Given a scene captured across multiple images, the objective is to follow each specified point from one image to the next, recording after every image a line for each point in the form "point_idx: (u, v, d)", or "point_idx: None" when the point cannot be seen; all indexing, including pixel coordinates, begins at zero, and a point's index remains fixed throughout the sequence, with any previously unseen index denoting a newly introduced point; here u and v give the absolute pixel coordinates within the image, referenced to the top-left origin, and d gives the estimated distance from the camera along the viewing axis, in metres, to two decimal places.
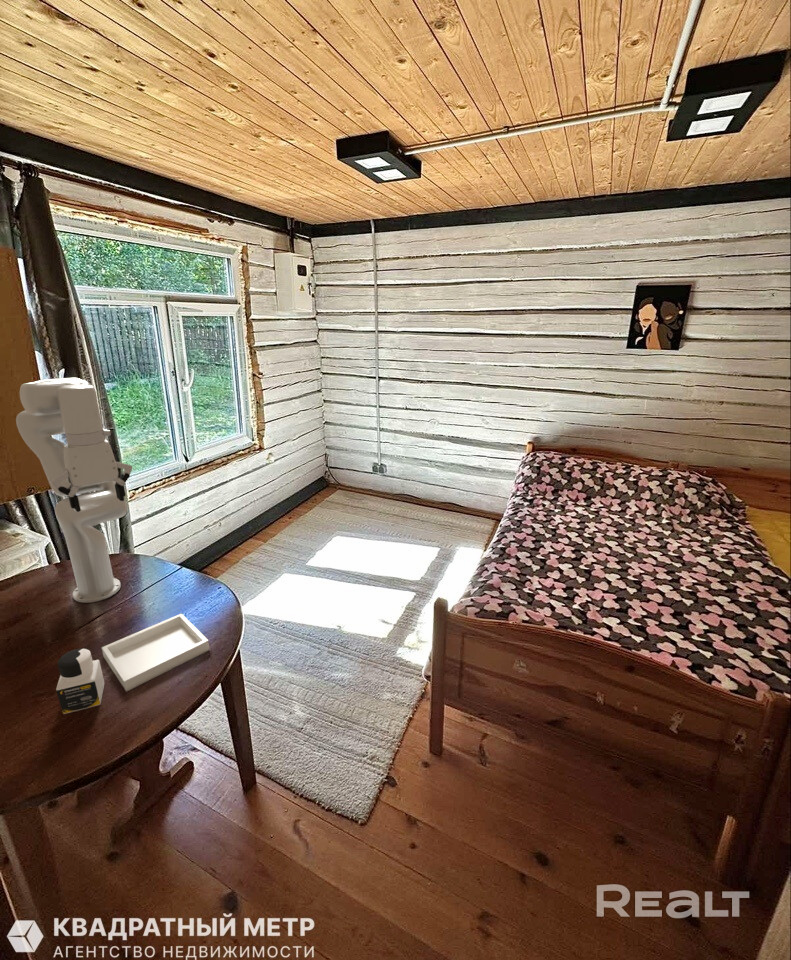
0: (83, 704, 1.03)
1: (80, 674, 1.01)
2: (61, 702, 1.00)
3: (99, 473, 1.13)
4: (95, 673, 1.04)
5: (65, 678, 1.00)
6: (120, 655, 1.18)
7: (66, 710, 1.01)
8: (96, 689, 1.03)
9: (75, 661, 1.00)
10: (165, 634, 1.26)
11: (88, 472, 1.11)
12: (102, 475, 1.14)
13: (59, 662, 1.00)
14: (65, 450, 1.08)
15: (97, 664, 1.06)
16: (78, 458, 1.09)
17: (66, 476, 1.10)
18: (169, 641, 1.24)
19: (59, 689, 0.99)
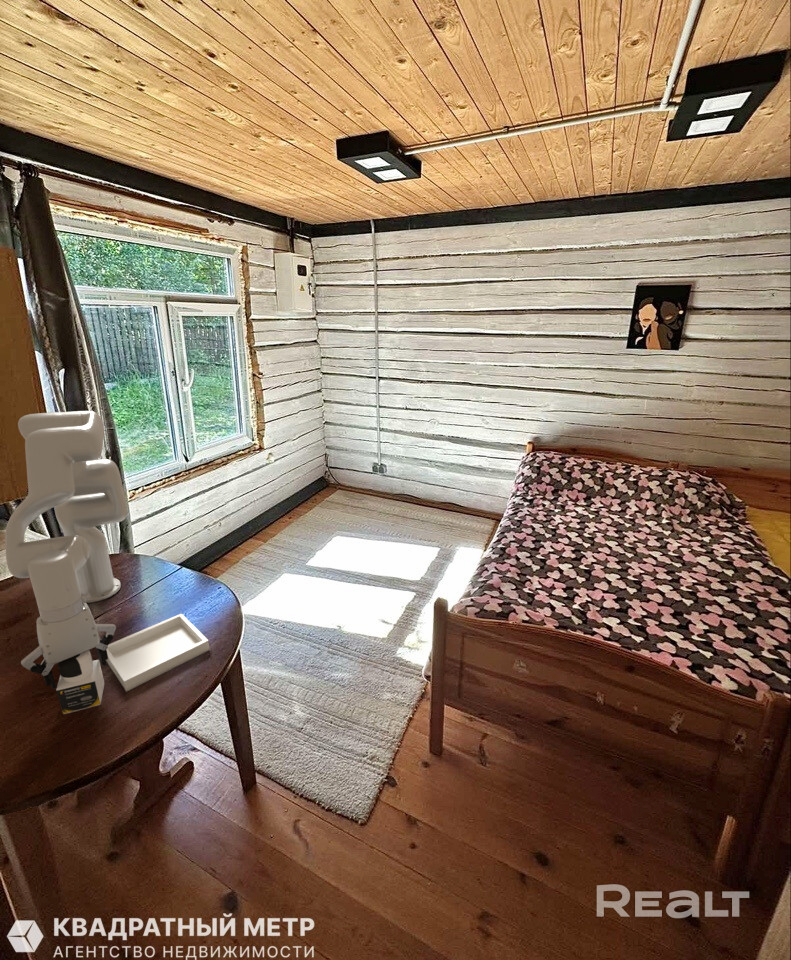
0: (83, 704, 1.03)
1: (80, 674, 1.01)
2: (61, 702, 1.00)
3: (77, 644, 1.00)
4: (95, 673, 1.04)
5: (65, 678, 1.00)
6: (120, 655, 1.18)
7: (66, 710, 1.01)
8: (96, 689, 1.03)
9: (75, 661, 1.00)
10: (165, 634, 1.26)
11: (64, 646, 0.98)
12: (81, 646, 1.01)
13: (59, 662, 1.00)
14: (38, 626, 0.96)
15: (97, 664, 1.06)
16: (52, 634, 0.96)
17: (39, 654, 0.97)
18: (169, 641, 1.24)
19: (59, 689, 0.99)
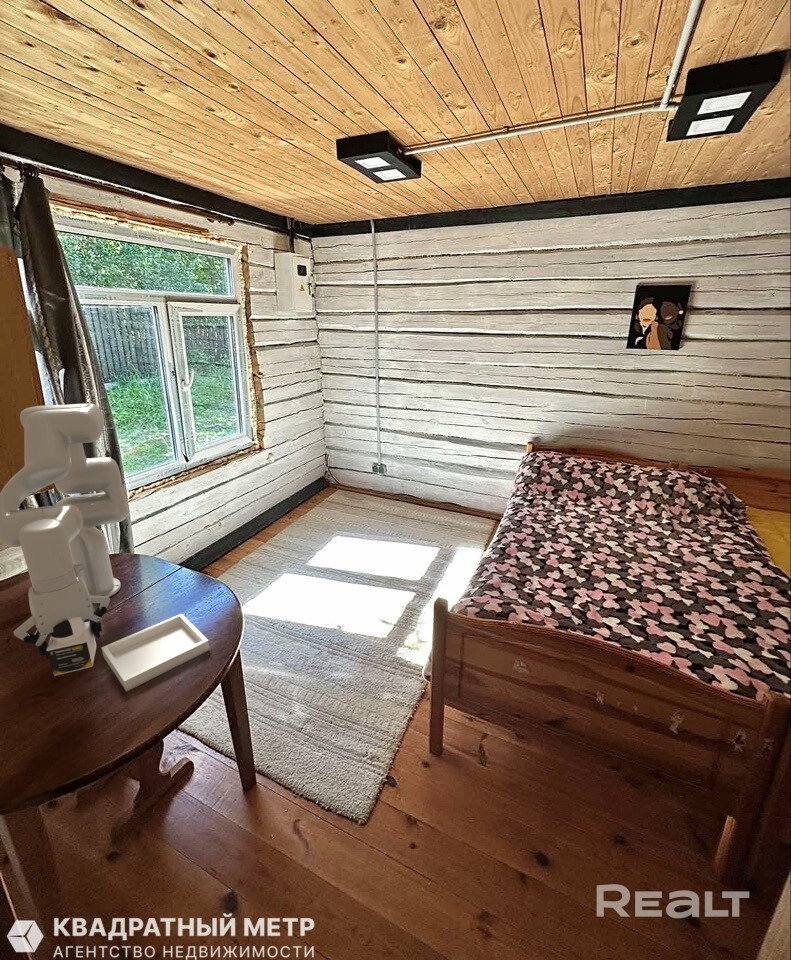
0: (74, 666, 1.00)
1: (71, 635, 0.98)
2: (52, 663, 0.98)
3: (71, 615, 0.98)
4: (86, 634, 1.01)
5: (56, 638, 0.97)
6: (120, 655, 1.18)
7: (57, 671, 0.99)
8: (88, 650, 1.00)
9: (66, 621, 0.97)
10: (165, 634, 1.26)
11: (57, 617, 0.96)
12: (74, 616, 0.99)
13: None
14: (30, 596, 0.94)
15: (89, 626, 1.04)
16: (45, 604, 0.94)
17: (32, 624, 0.95)
18: (169, 641, 1.24)
19: (50, 649, 0.97)
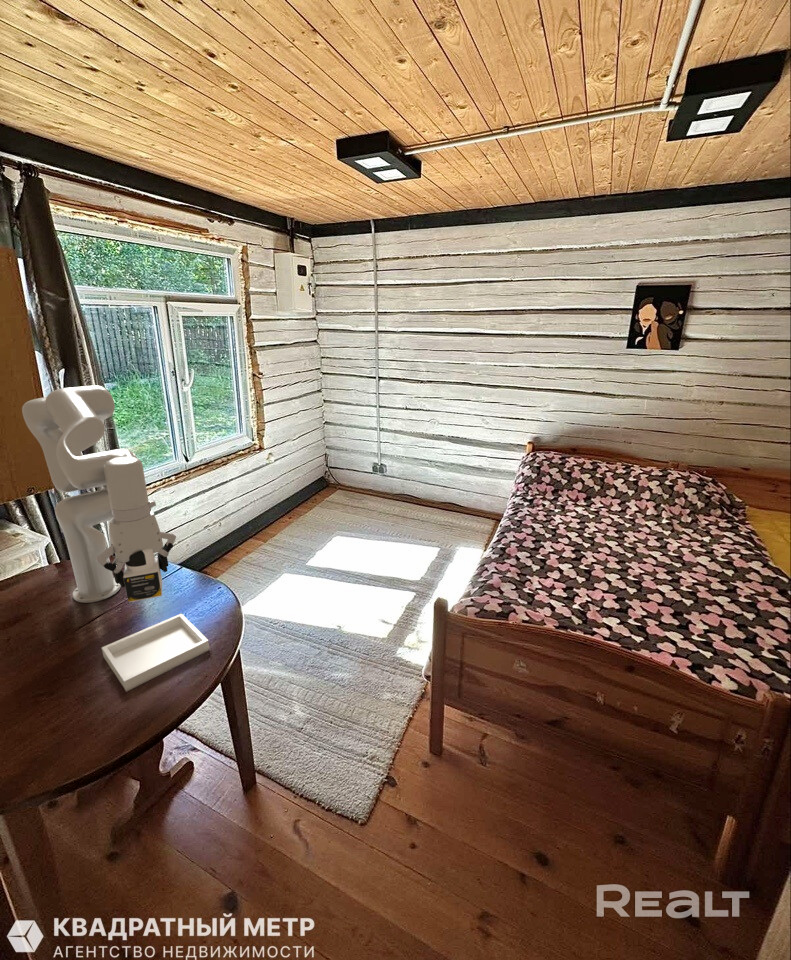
0: (146, 594, 1.10)
1: (145, 564, 1.08)
2: (127, 590, 1.08)
3: (144, 547, 1.08)
4: (157, 566, 1.11)
5: (131, 567, 1.07)
6: (120, 655, 1.18)
7: (131, 598, 1.09)
8: (158, 580, 1.10)
9: (140, 551, 1.08)
10: (165, 634, 1.26)
11: (133, 547, 1.06)
12: (147, 548, 1.09)
13: None
14: (111, 526, 1.04)
15: (157, 560, 1.14)
16: (124, 534, 1.04)
17: (111, 552, 1.05)
18: (169, 641, 1.24)
19: (126, 577, 1.07)
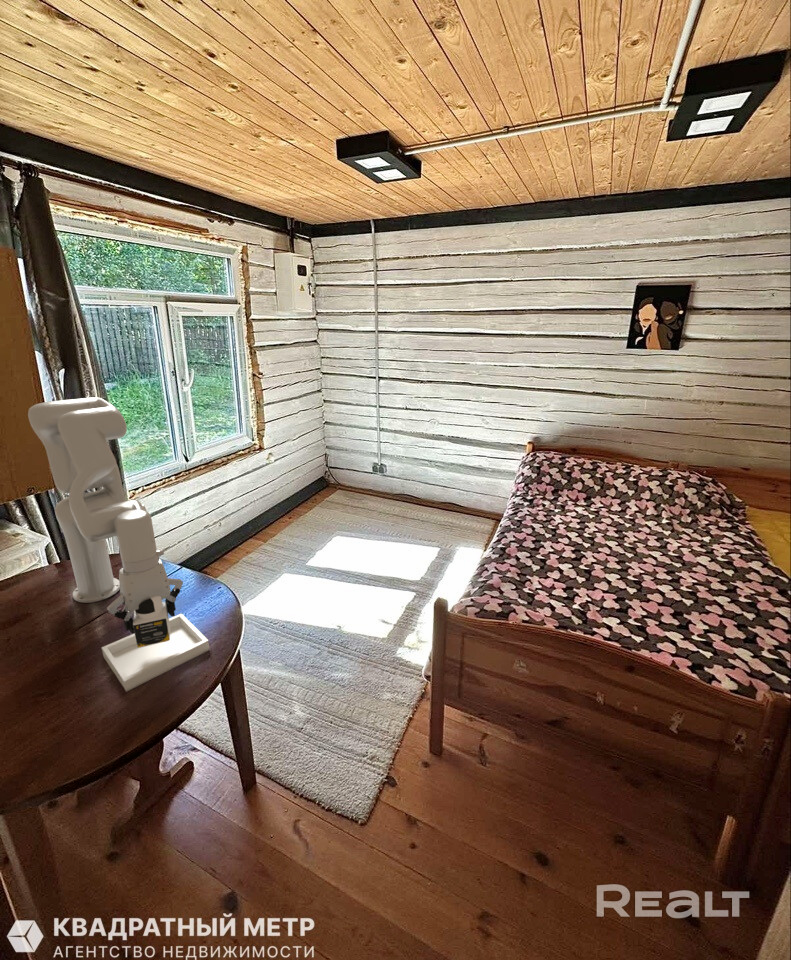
0: (155, 639, 1.14)
1: (153, 611, 1.13)
2: (137, 636, 1.12)
3: (153, 594, 1.13)
4: (165, 612, 1.15)
5: (140, 615, 1.12)
6: (120, 655, 1.18)
7: (140, 644, 1.13)
8: (166, 626, 1.15)
9: (149, 599, 1.12)
10: None
11: (142, 595, 1.11)
12: None
13: None
14: (121, 576, 1.08)
15: (165, 605, 1.18)
16: (133, 584, 1.09)
17: (122, 601, 1.09)
18: (169, 641, 1.24)
19: (136, 624, 1.11)
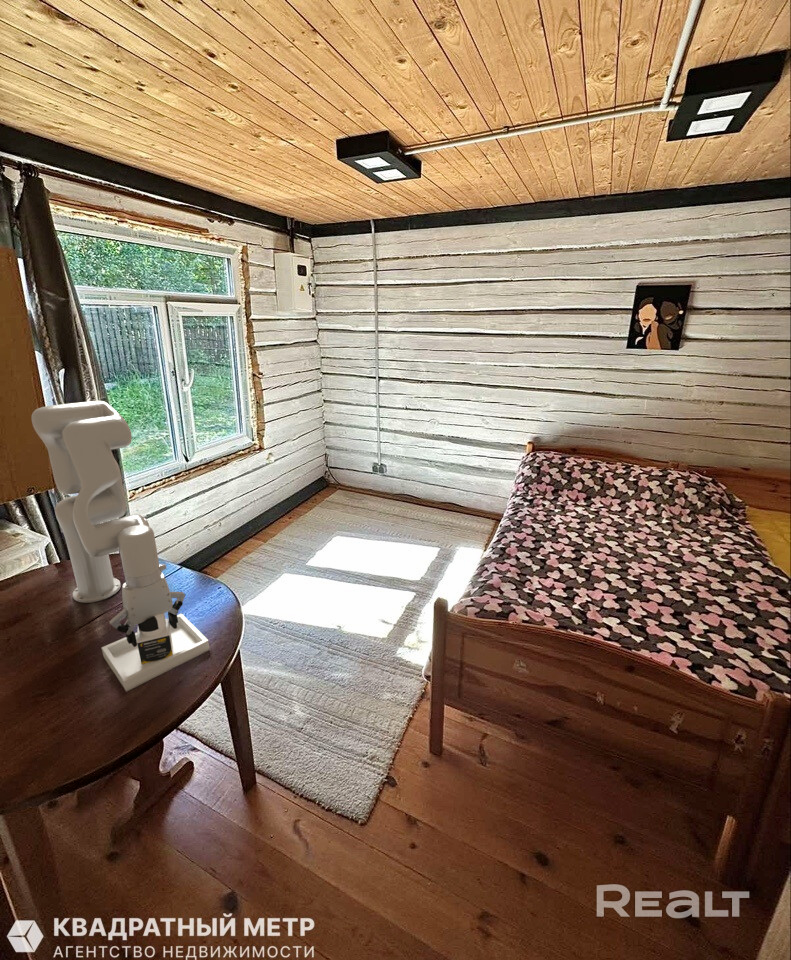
0: (158, 656, 1.16)
1: (157, 629, 1.15)
2: (141, 654, 1.14)
3: (155, 608, 1.14)
4: (168, 629, 1.17)
5: (144, 632, 1.14)
6: (120, 655, 1.18)
7: (144, 661, 1.15)
8: (170, 642, 1.17)
9: (153, 617, 1.14)
10: None
11: (145, 609, 1.12)
12: (158, 609, 1.15)
13: None
14: (124, 591, 1.10)
15: (168, 622, 1.20)
16: (136, 598, 1.10)
17: (124, 615, 1.11)
18: None
19: (140, 642, 1.13)
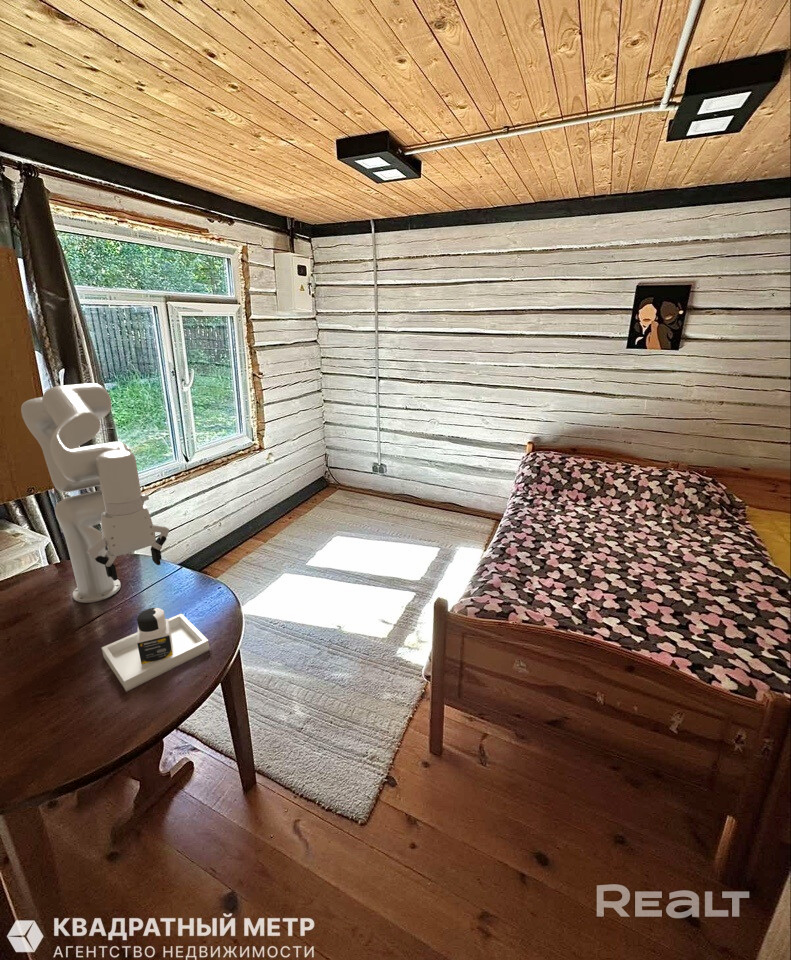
0: (158, 656, 1.16)
1: (157, 629, 1.15)
2: (141, 654, 1.14)
3: (137, 540, 1.08)
4: (168, 629, 1.17)
5: (144, 632, 1.14)
6: (120, 655, 1.18)
7: (144, 661, 1.15)
8: (170, 642, 1.17)
9: (152, 617, 1.14)
10: None
11: (126, 540, 1.06)
12: (140, 542, 1.09)
13: (138, 618, 1.14)
14: (103, 519, 1.04)
15: (168, 622, 1.20)
16: (116, 527, 1.04)
17: (104, 545, 1.05)
18: None
19: (140, 642, 1.13)
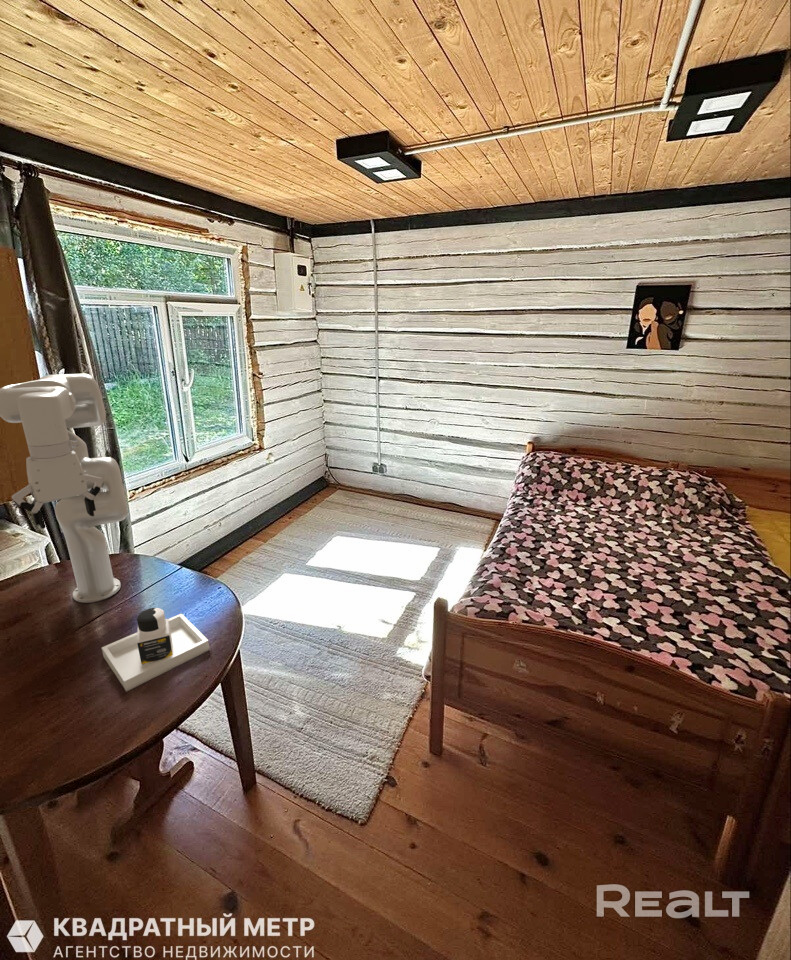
0: (158, 656, 1.16)
1: (157, 629, 1.15)
2: (141, 654, 1.14)
3: (65, 487, 1.05)
4: (168, 629, 1.17)
5: (144, 632, 1.14)
6: (120, 655, 1.18)
7: (144, 661, 1.15)
8: (170, 642, 1.17)
9: (152, 617, 1.14)
10: None
11: (52, 486, 1.03)
12: (69, 489, 1.06)
13: (138, 618, 1.14)
14: (27, 463, 1.01)
15: (168, 622, 1.20)
16: (41, 471, 1.01)
17: (29, 491, 1.02)
18: None
19: (140, 642, 1.13)
